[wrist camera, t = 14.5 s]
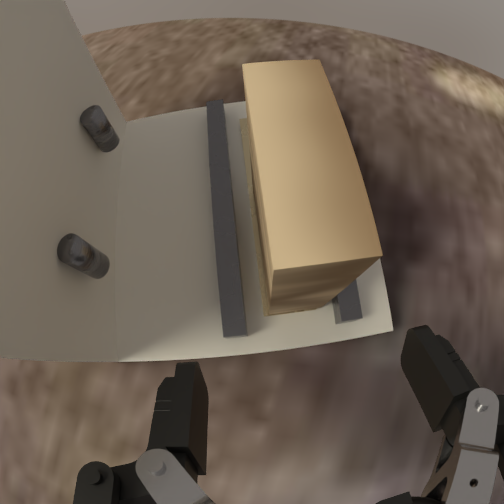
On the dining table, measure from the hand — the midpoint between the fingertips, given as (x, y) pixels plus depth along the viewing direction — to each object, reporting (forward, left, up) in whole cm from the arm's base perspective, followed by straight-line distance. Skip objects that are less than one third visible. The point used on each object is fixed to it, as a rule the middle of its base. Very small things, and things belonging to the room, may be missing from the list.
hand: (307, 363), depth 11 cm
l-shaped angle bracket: (-3, +10, -8) cm, 13 cm away
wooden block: (0, +7, -6) cm, 9 cm away
